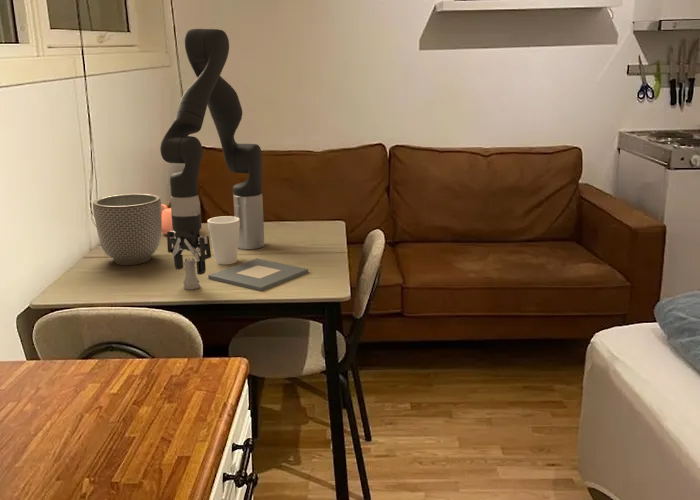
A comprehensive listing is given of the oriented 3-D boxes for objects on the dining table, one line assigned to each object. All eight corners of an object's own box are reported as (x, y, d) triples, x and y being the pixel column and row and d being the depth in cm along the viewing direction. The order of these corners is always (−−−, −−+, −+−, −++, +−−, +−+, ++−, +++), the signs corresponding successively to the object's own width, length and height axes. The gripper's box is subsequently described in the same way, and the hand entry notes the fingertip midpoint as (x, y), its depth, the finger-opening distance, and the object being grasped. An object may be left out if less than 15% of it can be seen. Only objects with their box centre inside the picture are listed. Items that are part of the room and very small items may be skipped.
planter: (87, 261, 224) (79, 200, 219) (143, 248, 238) (138, 190, 232) (121, 274, 211) (114, 209, 206) (178, 259, 225) (173, 198, 219)
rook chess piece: (184, 285, 200) (182, 257, 198) (201, 284, 200) (199, 256, 198) (182, 290, 196) (180, 261, 194) (199, 289, 196) (197, 261, 194)
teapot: (182, 240, 246) (179, 210, 244) (150, 232, 258) (147, 204, 255) (208, 234, 255) (206, 204, 252) (177, 226, 266) (174, 198, 263)
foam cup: (226, 255, 228) (223, 214, 224) (248, 259, 223) (245, 218, 219) (204, 262, 220) (200, 221, 217) (226, 267, 215) (223, 224, 212)
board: (208, 278, 205) (208, 274, 205) (257, 261, 221) (256, 258, 221) (261, 291, 194) (260, 287, 194) (308, 272, 210) (308, 268, 209)
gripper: (156, 211, 193) (161, 270, 198) (194, 218, 185) (198, 279, 190) (178, 206, 199) (182, 264, 203) (215, 212, 191) (219, 272, 195)
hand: (190, 271), depth 197 cm, fingers open, 8 cm apart
